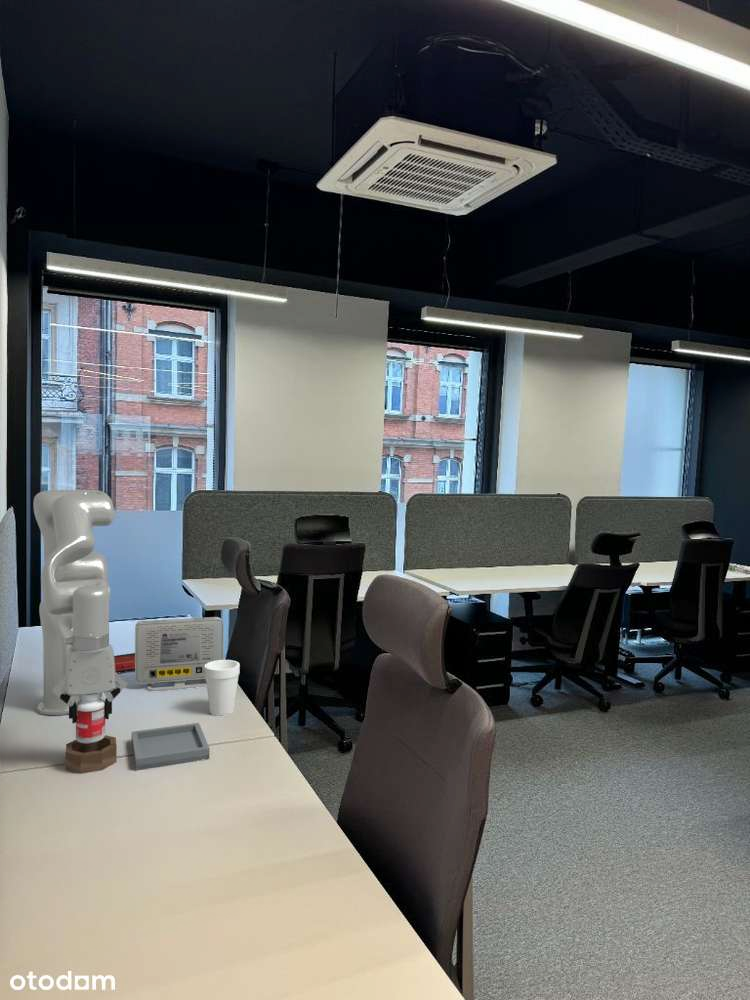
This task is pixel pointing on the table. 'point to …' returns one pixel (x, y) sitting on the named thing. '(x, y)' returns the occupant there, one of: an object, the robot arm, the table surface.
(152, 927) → the table surface
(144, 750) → the tray
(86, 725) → the pill bottle
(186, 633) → the network device
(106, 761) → the holder ring
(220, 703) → the foam cup
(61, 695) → the robot arm
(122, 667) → the binder
